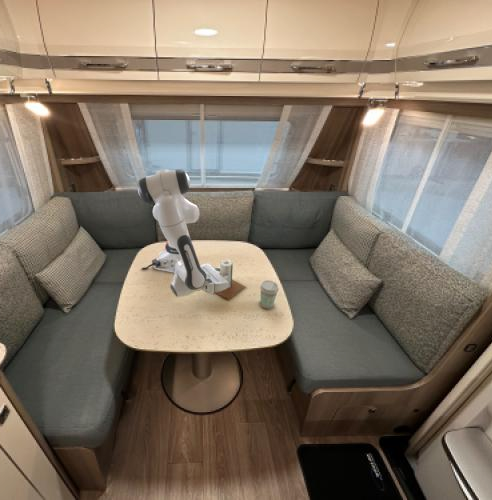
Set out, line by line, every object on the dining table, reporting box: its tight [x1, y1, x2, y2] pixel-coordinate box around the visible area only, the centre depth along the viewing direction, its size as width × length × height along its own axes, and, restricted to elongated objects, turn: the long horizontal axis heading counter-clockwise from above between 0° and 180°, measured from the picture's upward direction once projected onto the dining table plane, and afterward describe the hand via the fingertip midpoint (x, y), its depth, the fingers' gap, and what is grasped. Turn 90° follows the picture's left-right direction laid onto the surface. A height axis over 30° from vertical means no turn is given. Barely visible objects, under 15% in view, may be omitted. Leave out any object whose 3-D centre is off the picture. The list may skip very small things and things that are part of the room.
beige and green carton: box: [219, 259, 234, 288], centre depth 139 cm, size 6×6×14 cm
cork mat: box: [214, 272, 246, 301], centre depth 142 cm, size 18×14×1 cm
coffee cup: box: [259, 280, 280, 310], centre depth 127 cm, size 9×8×12 cm
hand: (225, 272), depth 138 cm, fingers closed on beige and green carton, 6 cm apart
